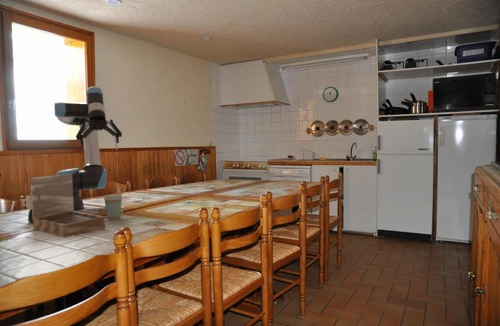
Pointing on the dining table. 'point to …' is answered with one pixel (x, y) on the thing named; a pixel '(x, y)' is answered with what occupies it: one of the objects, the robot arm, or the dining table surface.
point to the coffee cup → (113, 206)
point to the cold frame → (59, 208)
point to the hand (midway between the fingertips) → (101, 149)
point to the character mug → (28, 206)
